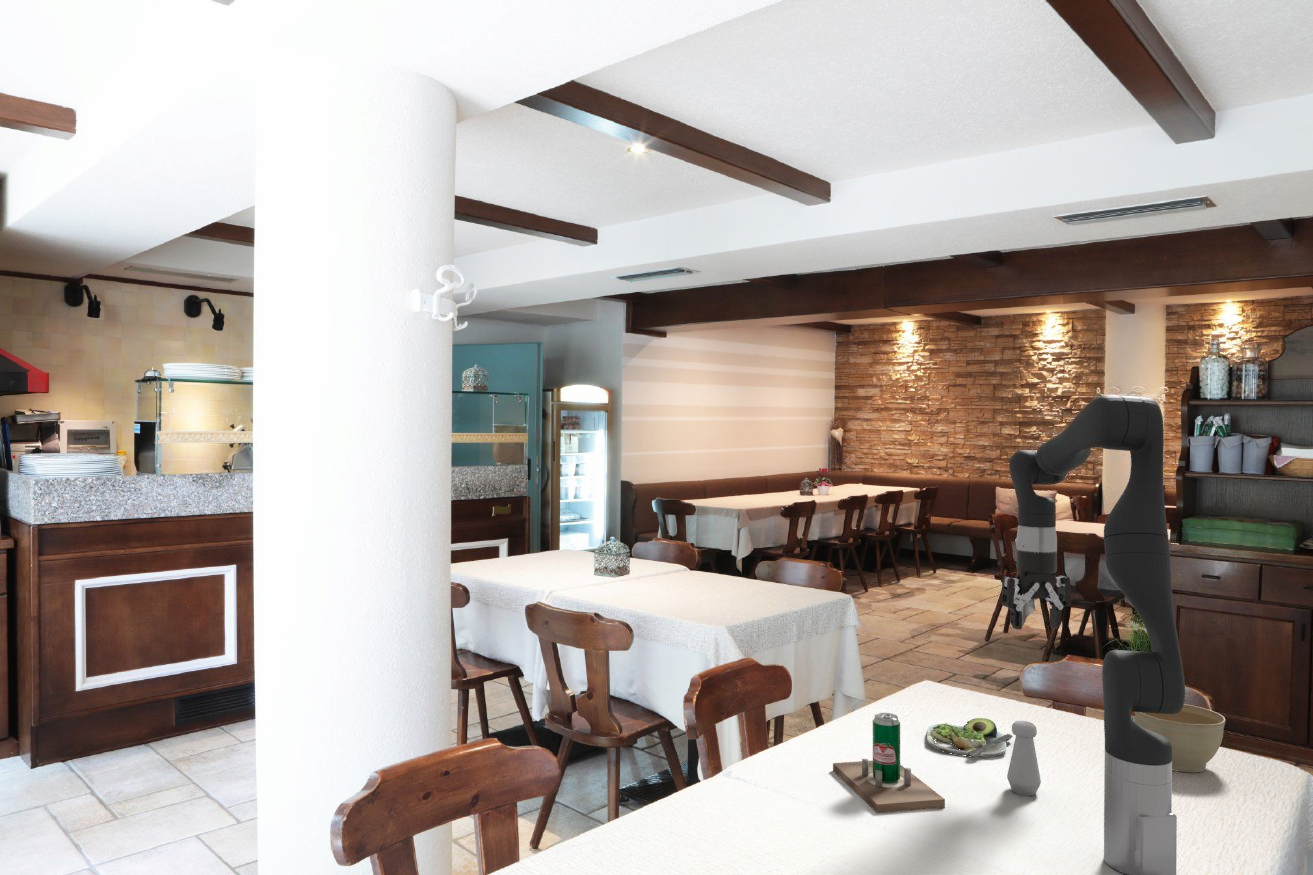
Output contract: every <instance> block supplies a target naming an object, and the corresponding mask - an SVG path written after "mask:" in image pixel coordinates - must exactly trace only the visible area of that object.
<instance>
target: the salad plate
mask: <svg viewBox="0 0 1313 875" xmlns="http://www.w3.org/2000/svg"><path fill="white" fill-rule="evenodd" d="M1012 738H1013V734H1010V733H1006V734H1003V733H1001V732H1000V731H998V728H997V725H996V724H995V722H994V721H993V720H991V719H990V718H983V717H978V718H972V719H970V720H967V721H966V724H964V725H963V726H962V725H956V724H950V723H948V722H946V723H945V722H944V723H936V724H933V725H932V724H931V725H930V726H929V727H928V728H927V730H926V741H927V743H928V744H929V745H930V746H932V748H933V749H935V748H936V749H935V750H937V749H938V750H937V751H939V750H940V752H942V751H944V752H946V753H945V754H948V753H952V754H951V755H953V754H956V755H955V756H960V755H966V756H965V757H968V756H971V757H970V758H975V757H979V758H989V756H990V757H996V756H999V755H1003V754H1004V753H1005V752H1006V751H1007V742H1008V741H1010V740H1011V739H1012ZM935 739H938V740H937V741H940V740H942V741H941V742H943V741H944V742H943V743H946V742H949V743H948V744H950V743H952V744H951V745H953V744H954V745H953V746H955V745H956V746H955V749H954V748H948V747H945V746H943V745H941V744H939V743H938V742H937V743H935V741H934V740H935ZM956 747H957V748H958V749H960V750H958V749H956ZM944 752H943V753H944Z"/></svg>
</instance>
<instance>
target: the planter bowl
mask: <svg viewBox="0 0 1313 875" xmlns="http://www.w3.org/2000/svg"><path fill="white" fill-rule="evenodd" d="M1134 719H1135V720H1134V721H1135V723H1136V724H1137V725H1139V726H1141V727H1143V728H1146V729H1148V730H1151V731H1153V732H1156V733H1158V734H1160V735H1162V736H1164V737H1165V738H1167V739H1168V740H1169V741H1170V743H1171V745H1172V771H1178V772H1183V773H1201V772H1204V771H1205V770H1206V768H1207V764H1209V762H1210V761H1211V760H1212V759H1213V758H1214V757H1215V755H1216V754H1217V752H1218V751H1219V748H1220V747H1221V744H1222V741H1223V738H1224V729H1225V725H1226V718H1225V716H1224V715H1222V714H1221V713H1219V712H1216V711H1213V710H1212V709H1211V710H1210V709H1207V708H1204V707H1202V706H1201V707H1200V706H1196V705H1192V704H1185V703H1184V705H1183V708H1182V710H1181V711H1180V712H1179V713H1177V714H1158V713H1145V712H1134Z"/></svg>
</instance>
